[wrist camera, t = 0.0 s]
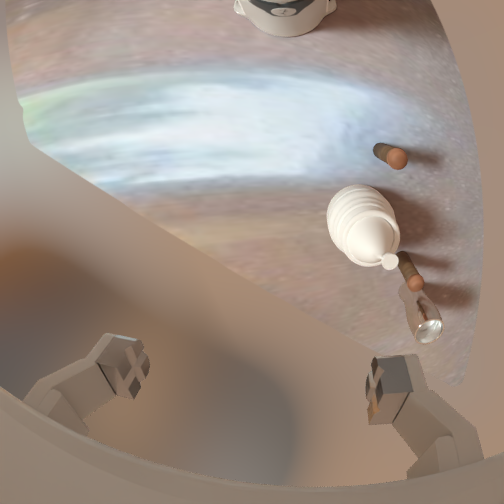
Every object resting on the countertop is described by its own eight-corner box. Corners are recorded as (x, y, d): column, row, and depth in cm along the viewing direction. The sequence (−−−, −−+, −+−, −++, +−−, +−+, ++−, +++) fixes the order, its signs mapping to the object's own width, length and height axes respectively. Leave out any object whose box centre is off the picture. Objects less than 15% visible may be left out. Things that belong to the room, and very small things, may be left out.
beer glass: (425, 275, 57) (449, 316, 44) (420, 300, 60) (440, 343, 47) (398, 277, 59) (417, 320, 45) (394, 303, 62) (410, 347, 48)
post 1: (372, 141, 48) (390, 148, 37) (389, 142, 47) (411, 150, 36) (371, 158, 49) (389, 170, 38) (388, 160, 48) (409, 172, 38)
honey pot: (397, 196, 51) (432, 231, 35) (375, 253, 57) (396, 303, 41) (337, 175, 52) (353, 203, 36) (318, 236, 58) (322, 284, 42)
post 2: (395, 249, 56) (411, 279, 45) (409, 250, 55) (428, 279, 45) (392, 264, 57) (408, 295, 47) (406, 264, 57) (424, 295, 46)
